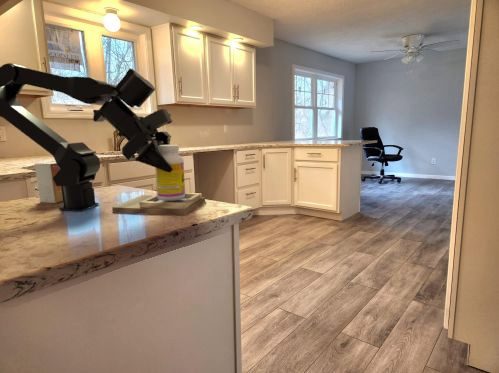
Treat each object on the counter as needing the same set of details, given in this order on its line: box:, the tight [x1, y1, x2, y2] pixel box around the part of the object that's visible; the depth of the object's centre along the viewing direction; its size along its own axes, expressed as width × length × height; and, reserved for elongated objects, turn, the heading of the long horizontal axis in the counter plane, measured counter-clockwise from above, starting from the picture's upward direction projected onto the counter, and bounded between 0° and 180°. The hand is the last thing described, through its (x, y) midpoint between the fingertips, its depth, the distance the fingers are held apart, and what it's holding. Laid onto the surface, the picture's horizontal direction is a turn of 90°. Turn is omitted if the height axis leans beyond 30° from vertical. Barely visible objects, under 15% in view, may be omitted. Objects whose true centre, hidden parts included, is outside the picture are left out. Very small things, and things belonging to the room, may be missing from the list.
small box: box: [34, 161, 63, 204], centre depth 87 cm, size 8×6×10 cm
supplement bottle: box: [154, 144, 186, 201], centre depth 76 cm, size 7×7×13 cm
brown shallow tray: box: [111, 192, 206, 217], centre depth 78 cm, size 18×13×2 cm
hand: (175, 169), depth 76 cm, fingers closed on supplement bottle, 7 cm apart
